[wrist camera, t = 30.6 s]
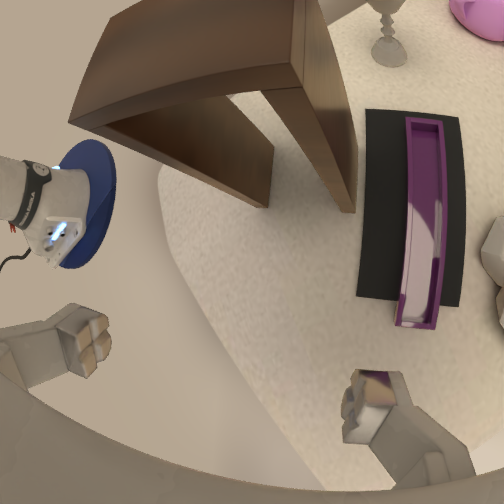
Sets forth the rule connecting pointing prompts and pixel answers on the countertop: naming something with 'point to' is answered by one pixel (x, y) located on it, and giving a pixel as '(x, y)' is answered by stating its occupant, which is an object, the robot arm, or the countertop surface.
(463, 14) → the teapot
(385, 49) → the chalice
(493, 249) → the rock
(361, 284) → the charcoal mat
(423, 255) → the plum dish
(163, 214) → the countertop surface
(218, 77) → the walnut stand
